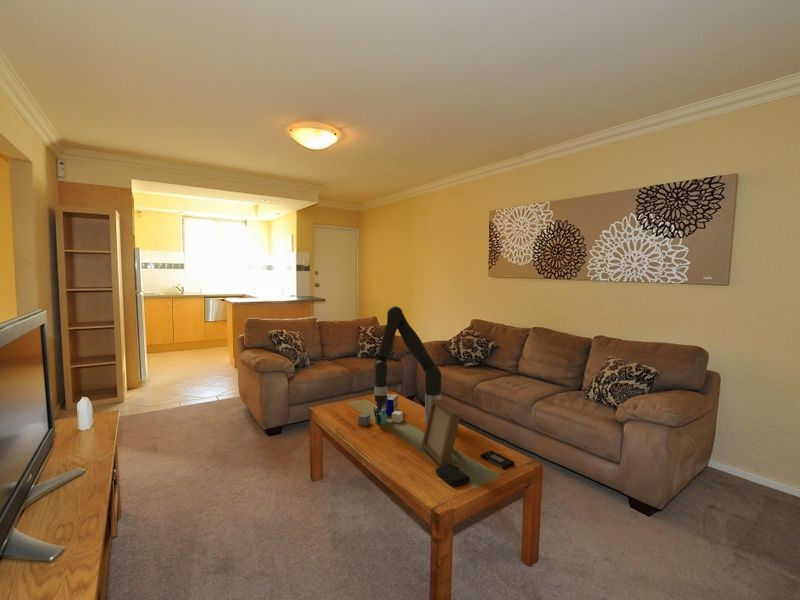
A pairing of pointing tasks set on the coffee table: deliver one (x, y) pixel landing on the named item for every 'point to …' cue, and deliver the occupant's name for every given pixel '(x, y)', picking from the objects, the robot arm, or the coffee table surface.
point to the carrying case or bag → (452, 475)
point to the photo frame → (441, 431)
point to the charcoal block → (364, 419)
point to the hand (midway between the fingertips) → (380, 421)
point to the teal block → (382, 418)
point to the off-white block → (397, 416)
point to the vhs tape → (497, 459)
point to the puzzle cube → (392, 404)
